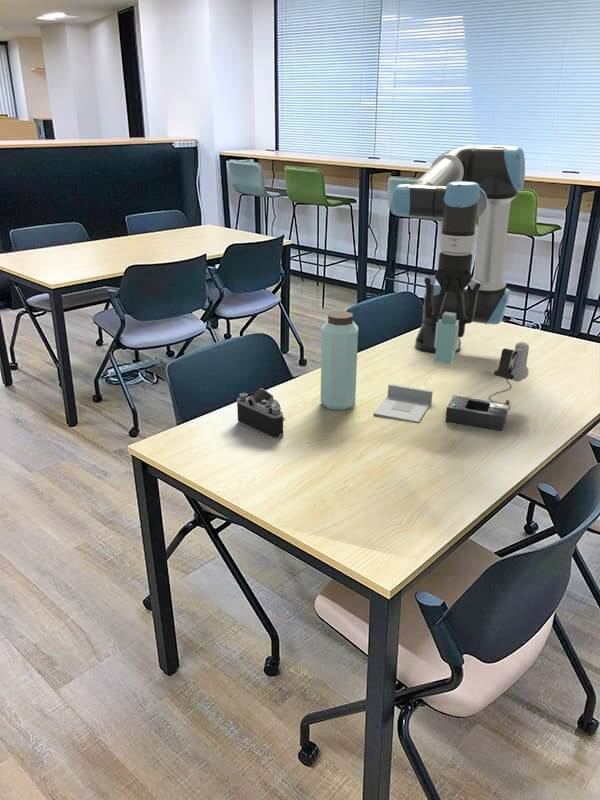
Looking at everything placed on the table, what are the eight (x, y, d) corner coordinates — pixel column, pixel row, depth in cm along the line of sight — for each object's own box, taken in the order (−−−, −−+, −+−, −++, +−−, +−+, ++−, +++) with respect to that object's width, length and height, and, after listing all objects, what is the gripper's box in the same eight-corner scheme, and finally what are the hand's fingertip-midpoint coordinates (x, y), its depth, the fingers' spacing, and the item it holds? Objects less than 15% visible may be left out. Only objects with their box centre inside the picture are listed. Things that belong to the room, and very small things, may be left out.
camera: (300, 430, 157) (300, 393, 153) (276, 441, 152) (275, 403, 148) (258, 411, 167) (257, 376, 163) (234, 421, 161) (232, 385, 157)
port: (451, 410, 167) (453, 394, 165) (509, 420, 162) (511, 403, 160) (445, 423, 160) (446, 406, 158) (504, 434, 155) (507, 416, 153)
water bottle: (313, 407, 169) (314, 317, 159) (329, 393, 177) (331, 307, 167) (347, 414, 165) (350, 322, 154) (362, 400, 173) (366, 312, 162)
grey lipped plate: (388, 395, 176) (389, 383, 175) (431, 402, 172) (432, 390, 170) (373, 415, 164) (374, 402, 163) (418, 423, 160) (420, 411, 159)
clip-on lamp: (504, 418, 163) (514, 353, 155) (482, 410, 167) (491, 346, 159) (526, 404, 170) (537, 341, 163) (504, 397, 174) (514, 335, 167)
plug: (438, 356, 160) (443, 310, 155) (454, 358, 159) (459, 312, 154) (434, 361, 157) (439, 315, 152) (450, 364, 155) (455, 317, 151)
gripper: (415, 252, 147) (408, 346, 157) (490, 258, 140) (477, 357, 150) (424, 246, 153) (417, 338, 163) (496, 252, 147) (484, 347, 156)
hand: (446, 347), depth 156 cm, fingers closed on plug, 4 cm apart
